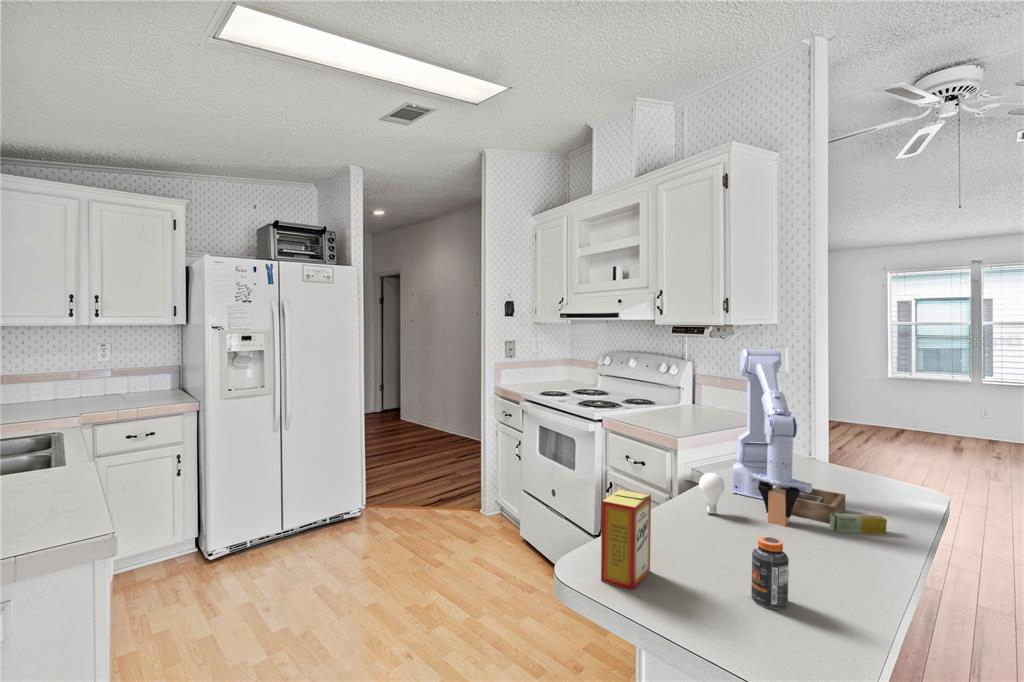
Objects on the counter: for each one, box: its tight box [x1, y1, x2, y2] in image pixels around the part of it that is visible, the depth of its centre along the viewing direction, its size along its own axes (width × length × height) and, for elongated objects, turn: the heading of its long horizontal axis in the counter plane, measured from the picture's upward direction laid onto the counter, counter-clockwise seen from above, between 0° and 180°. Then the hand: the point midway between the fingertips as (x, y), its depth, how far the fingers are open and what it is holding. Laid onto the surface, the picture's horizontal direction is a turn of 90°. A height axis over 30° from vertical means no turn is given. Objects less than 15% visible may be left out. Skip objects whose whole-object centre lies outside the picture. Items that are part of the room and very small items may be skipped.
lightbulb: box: [698, 472, 726, 515], centre depth 139 cm, size 6×6×11 cm
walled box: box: [774, 486, 846, 524], centre depth 142 cm, size 16×14×4 cm
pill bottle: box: [750, 535, 790, 610], centre depth 94 cm, size 6×6×11 cm
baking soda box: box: [600, 488, 652, 591], centre depth 103 cm, size 10×6×16 cm
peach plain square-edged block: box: [767, 487, 790, 527], centre depth 133 cm, size 4×4×8 cm
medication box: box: [829, 513, 888, 535], centre depth 128 cm, size 12×3×4 cm, turn 83°
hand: (778, 514), depth 133 cm, fingers closed on peach plain square-edged block, 4 cm apart
